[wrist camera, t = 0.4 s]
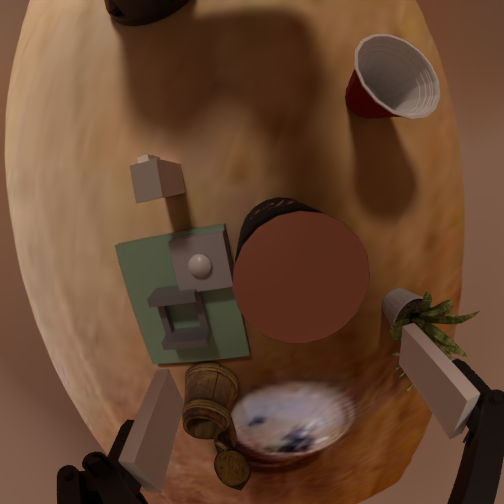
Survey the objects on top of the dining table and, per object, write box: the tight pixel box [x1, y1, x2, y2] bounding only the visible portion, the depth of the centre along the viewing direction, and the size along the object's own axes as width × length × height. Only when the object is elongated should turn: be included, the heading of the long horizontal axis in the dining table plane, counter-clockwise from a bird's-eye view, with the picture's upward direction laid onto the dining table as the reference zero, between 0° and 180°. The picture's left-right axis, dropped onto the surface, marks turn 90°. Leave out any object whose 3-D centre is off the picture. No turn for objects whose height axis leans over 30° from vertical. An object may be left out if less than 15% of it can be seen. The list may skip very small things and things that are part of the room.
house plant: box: [382, 288, 478, 395], centre depth 33 cm, size 14×14×16 cm
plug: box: [130, 154, 185, 203], centre depth 31 cm, size 5×3×10 cm, turn 10°
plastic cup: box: [345, 34, 440, 119], centre depth 27 cm, size 11×11×12 cm
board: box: [115, 223, 250, 364], centre depth 38 cm, size 20×16×6 cm
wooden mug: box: [182, 362, 251, 490], centre depth 36 cm, size 9×14×18 cm, turn 37°
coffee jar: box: [232, 198, 370, 343], centre depth 29 cm, size 11×11×18 cm
